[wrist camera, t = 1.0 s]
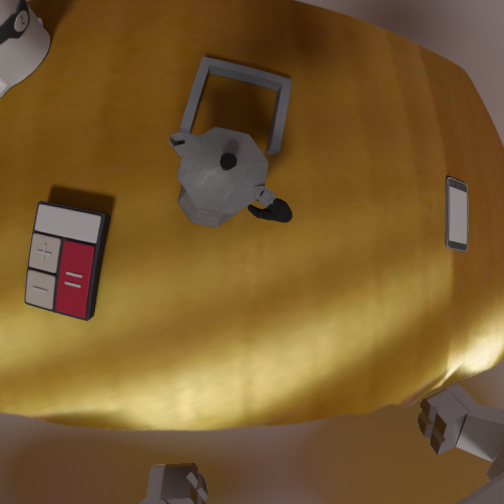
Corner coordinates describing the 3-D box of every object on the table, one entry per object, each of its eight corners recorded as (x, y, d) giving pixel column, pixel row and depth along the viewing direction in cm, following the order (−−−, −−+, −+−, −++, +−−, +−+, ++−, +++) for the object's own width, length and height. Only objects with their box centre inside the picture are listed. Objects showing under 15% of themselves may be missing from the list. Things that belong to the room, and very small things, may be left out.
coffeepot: (153, 198, 44) (139, 162, 26) (190, 147, 45) (199, 87, 28) (242, 256, 47) (281, 256, 29) (275, 204, 48) (329, 175, 30)
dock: (179, 133, 45) (180, 127, 42) (201, 64, 46) (202, 56, 43) (274, 156, 48) (279, 151, 46) (287, 86, 49) (292, 79, 46)
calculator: (21, 304, 36) (36, 199, 36) (33, 299, 40) (47, 202, 40) (87, 323, 38) (104, 212, 38) (95, 316, 42) (111, 215, 43)
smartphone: (467, 184, 58) (467, 251, 57) (464, 185, 59) (463, 251, 58) (447, 176, 56) (447, 247, 55) (444, 177, 57) (443, 247, 56)
